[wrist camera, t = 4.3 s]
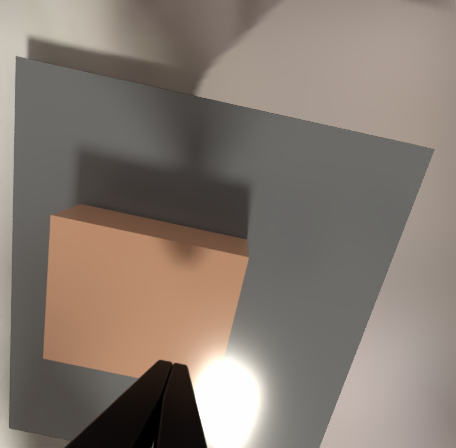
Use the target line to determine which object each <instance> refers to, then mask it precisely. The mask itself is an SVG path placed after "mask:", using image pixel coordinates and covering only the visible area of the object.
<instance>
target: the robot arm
mask: <svg viewBox="0 0 456 448" xmlns="http://www.w3.org/2000/svg"><path fill="white" fill-rule="evenodd" d="M152 447H153V448H208V447H207V443H206V439H205V435H204V431H203V427H202V423H201V419H200V414H199V410H198V406H197V402H196V398H195V394H194V390H193V386H192V382H191V378H190V374H189V369H188V366H187V365H185V364H181V363H174V364H173V363H172V362H171V361H166V360H158V361H157V362H156V363H155V364H154V365H153V366H151V367H150V368H149V369H148V370H147V371H146V372H145V373H144V374H143V375H142V376H141V377H140V378H139V379H138V380H136V381H135V382H134V383H133V384H132V385H131V386H130V387H129V388H128V389H127V390H126V391H125V392H124V393H122V394H121V395H120V396H119V397H118V398H117V399H116V400H115V401H114V402H113V403H112V404H111V405H110V406H109V407H107V408H106V409H105V410H104V411H103V412H102V413H101V414H100V415H99V416H98V417H97V418H96V419H95V420H94V421H92V422H91V423H90V424H89V425H88V426H87V427H86V428H85V429H84V430H83V431H82V432H81V433H80V434H79V435H77V436H76V437H75V438H74V439H73V440H72V441H71V442H70V443H69V444H68V445H67V446H66V447H65V448H152Z"/></svg>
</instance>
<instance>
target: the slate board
mask: <svg viewBox="0 0 456 448" xmlns="http://www.w3.org/2000/svg"><path fill="white" fill-rule="evenodd" d="M433 152H434V149H431V148H427V147H422V146H418V145H413V144H409V143H404V142H400V141H395V140H390V139H386V138H382V137H377V136H373V135H368V134H364V133H359V132H355V131H350V130H346V129H341V128H337V127H332V126H328V125H323V124H318V123H314V122H310V121H305V120H301V119H296V118H292V117H287V116H283V115H278V114H273V113H269V112H265V111H260V110H256V109H251V108H247V107H242V106H237V105H233V104H229V103H224V102H220V101H215V100H211V99H206V98H201V97H197V96H193V95H188V94H184V93H179V92H175V91H170V90H166V89H161V88H157V87H152V86H148V85H143V84H139V83H134V82H130V81H125V80H121V79H116V78H112V77H107V76H103V75H98V74H94V73H89V72H85V71H80V70H76V69H71V68H67V67H62V66H58V65H53V64H49V63H44V62H40V61H35V60H31V59H26V58H22V57H17V56H16V78H15V133H14V188H13V243H12V298H11V353H10V408H9V428H11V429H16V430H21V431H26V432H31V433H36V434H41V435H46V436H51V437H56V438H61V439H66V440H71V441H72V440H73V439H74V438H75V437H76V436H77V435H79V434H80V433H81V432H82V431H83V430H84V429H85V428H86V427H87V426H88V425H89V424H90V423H91V422H92V421H94V420H95V419H96V418H97V417H98V416H99V415H100V414H101V413H102V412H103V411H104V410H105V409H106V408H107V407H109V406H110V405H111V404H112V403H113V402H114V401H115V400H116V399H117V398H118V397H119V396H120V395H121V394H122V393H124V392H125V391H126V390H127V389H128V388H129V387H130V386H131V385H132V384H133V383H134V382H135V381H136V380H138V379H139V378H136V377H131V376H126V375H121V374H116V373H111V372H106V371H101V370H96V369H92V368H87V367H82V366H77V365H72V364H67V363H62V362H57V361H53V360H48V359H43V349H44V330H45V311H46V293H47V274H48V255H49V236H50V217H51V215H52V214H55V213H57V212H60V211H63V210H65V209H68V208H71V207H74V206H76V205H79V204H84V205H89V206H93V207H98V208H103V209H107V210H112V211H117V212H121V213H126V214H131V215H135V216H140V217H145V218H149V219H154V220H159V221H163V222H168V223H173V224H177V225H182V226H187V227H191V228H196V229H201V230H205V231H210V232H215V233H219V234H224V235H229V236H233V237H238V238H243V239H247V240H248V250H249V260H248V264H247V268H246V272H245V276H244V280H243V284H242V288H241V292H240V296H239V300H238V304H237V308H236V312H235V316H234V320H233V324H232V328H231V332H230V336H229V340H228V345H227V349H226V353H225V357H224V361H223V365H222V369H221V373H220V377H219V381H218V385H217V389H216V393H215V394H214V393H209V392H204V391H199V390H194V389H193V390H194V394H195V398H196V402H197V406H198V410H199V414H200V419H201V423H202V427H203V431H204V435H205V439H206V443H207V447H208V448H319V446H320V444H321V442H322V439H323V437H324V434H325V431H326V429H327V426H328V424H329V421H330V418H331V416H332V413H333V411H334V408H335V406H336V403H337V400H338V398H339V395H340V393H341V390H342V387H343V385H344V382H345V380H346V377H347V375H348V372H349V369H350V367H351V364H352V362H353V359H354V356H355V354H356V351H357V349H358V346H359V343H360V341H361V338H362V336H363V333H364V330H365V328H366V325H367V323H368V320H369V318H370V315H371V312H372V310H373V307H374V304H375V302H376V299H377V297H378V294H379V292H380V289H381V286H382V284H383V281H384V279H385V276H386V274H387V271H388V268H389V266H390V263H391V261H392V258H393V255H394V253H395V250H396V248H397V245H398V242H399V240H400V237H401V235H402V232H403V230H404V227H405V224H406V222H407V219H408V217H409V214H410V211H411V209H412V206H413V204H414V201H415V198H416V196H417V193H418V191H419V188H420V186H421V183H422V180H423V178H424V175H425V173H426V170H427V168H428V165H429V162H430V160H431V157H432V155H433ZM152 448H153V447H152Z"/></svg>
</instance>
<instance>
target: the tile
mask: <svg viewBox="0 0 456 448" xmlns="http://www.w3.org/2000/svg"><path fill="white" fill-rule="evenodd" d="M248 260H249V250H248V240H247V239H243V238H238V237H233V236H229V235H224V234H219V233H215V232H210V231H205V230H201V229H196V228H191V227H187V226H182V225H177V224H173V223H168V222H163V221H159V220H154V219H149V218H145V217H140V216H135V215H131V214H126V213H121V212H117V211H112V210H107V209H103V208H98V207H93V206H89V205H84V204H79V205H76V206H74V207H71V208H68V209H65V210H63V211H60V212H57V213H55V214H52V215H51V217H50V236H49V255H48V274H47V293H46V311H45V330H44V349H43V359H48V360H53V361H57V362H62V363H67V364H72V365H77V366H82V367H87V368H92V369H96V370H101V371H106V372H111V373H116V374H121V375H126V376H131V377H136V378H140V377H141V376H142V375H143V374H144V373H145V372H146V371H147V370H148V369H149V368H150V367H151V366H153V365H154V364H155V363H156V362H157V361H158V360H166V361H171V362H172V363H173V364H174V363H181V364H185V365H187V366H188V369H189V374H190V378H191V382H192V386H193V389H194V390H199V391H204V392H209V393H214V394H215V393H216V389H217V385H218V381H219V377H220V373H221V369H222V365H223V361H224V357H225V353H226V349H227V345H228V340H229V336H230V332H231V328H232V324H233V320H234V316H235V312H236V308H237V304H238V300H239V296H240V292H241V288H242V284H243V280H244V276H245V272H246V268H247V264H248Z"/></svg>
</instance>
